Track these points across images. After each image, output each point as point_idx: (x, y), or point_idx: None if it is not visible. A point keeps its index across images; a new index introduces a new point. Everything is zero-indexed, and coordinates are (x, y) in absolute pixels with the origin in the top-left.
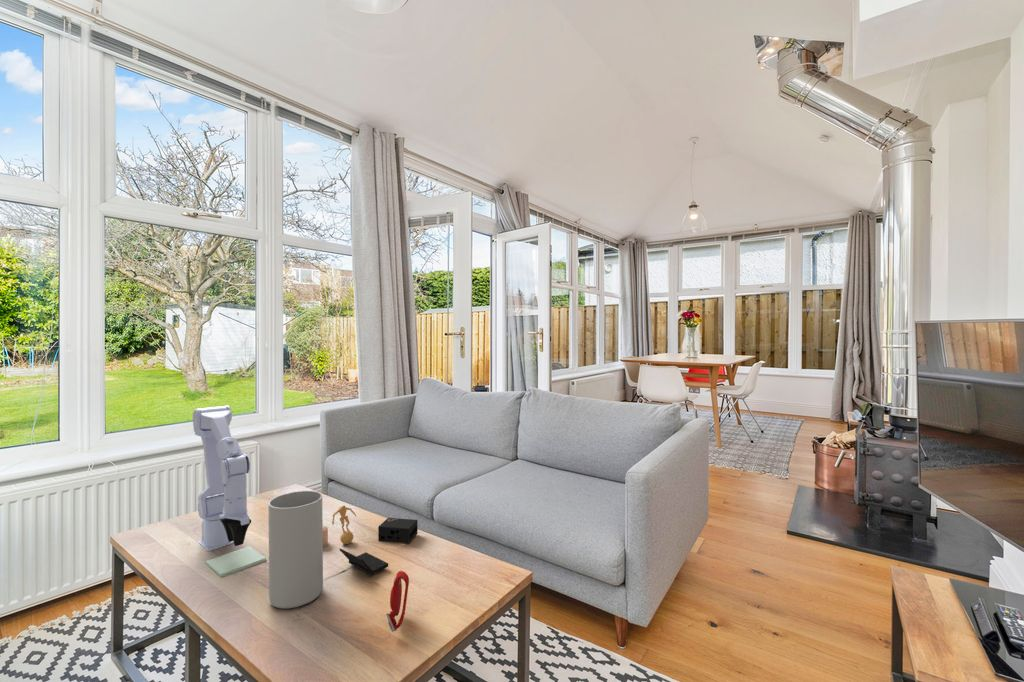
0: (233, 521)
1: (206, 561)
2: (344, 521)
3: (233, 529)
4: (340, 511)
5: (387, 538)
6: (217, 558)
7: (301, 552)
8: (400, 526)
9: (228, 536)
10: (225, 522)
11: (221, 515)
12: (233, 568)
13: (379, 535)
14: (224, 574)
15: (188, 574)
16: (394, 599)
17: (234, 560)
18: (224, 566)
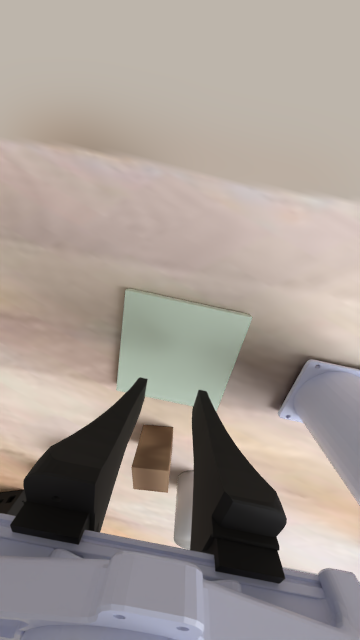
0: (201, 500)
1: (247, 318)
2: None
3: (62, 441)
4: None
5: (3, 498)
6: (232, 341)
7: None
8: None
9: (201, 406)
10: (215, 485)
11: (162, 623)
12: (129, 325)
13: (12, 503)
14: (125, 298)
15: (240, 257)
16: None
17: (174, 353)
18: (164, 322)
